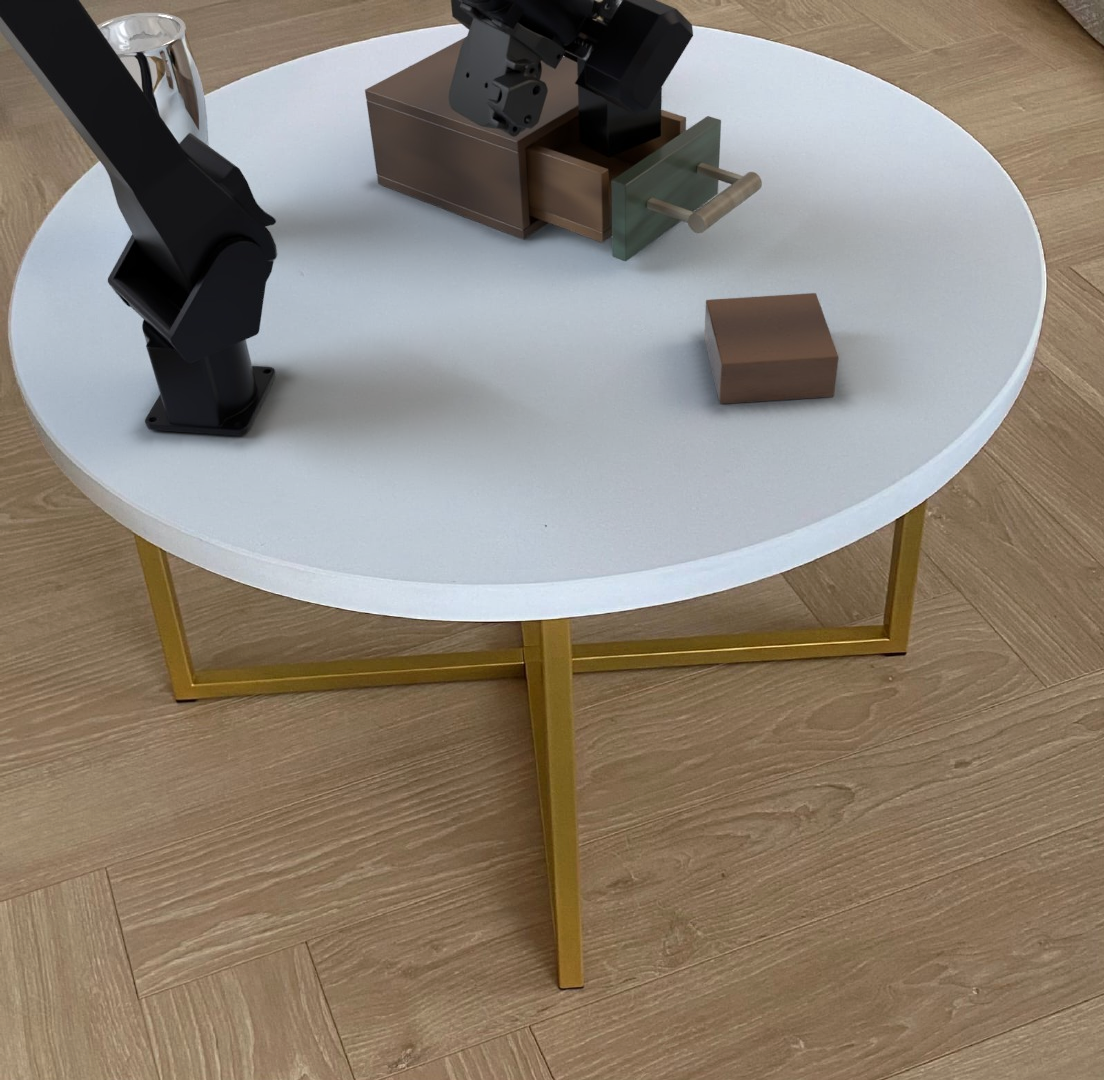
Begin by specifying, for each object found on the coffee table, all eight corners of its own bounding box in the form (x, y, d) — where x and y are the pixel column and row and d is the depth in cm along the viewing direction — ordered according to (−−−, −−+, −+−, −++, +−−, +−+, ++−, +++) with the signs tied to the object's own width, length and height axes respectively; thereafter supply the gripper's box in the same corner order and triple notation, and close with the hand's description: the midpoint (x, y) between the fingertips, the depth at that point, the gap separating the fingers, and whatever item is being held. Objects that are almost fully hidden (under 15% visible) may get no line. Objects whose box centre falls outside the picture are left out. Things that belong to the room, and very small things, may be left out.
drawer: (775, 213, 97) (781, 137, 93) (684, 284, 91) (687, 206, 87) (573, 145, 106) (570, 73, 102) (477, 206, 100) (470, 132, 96)
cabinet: (627, 170, 104) (627, 74, 99) (523, 240, 97) (517, 141, 92) (484, 121, 111) (477, 30, 106) (377, 184, 104) (364, 89, 99)
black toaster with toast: (661, 136, 95) (663, 15, 89) (608, 158, 93) (606, 35, 87) (631, 120, 97) (631, 1, 91) (579, 142, 95) (575, 21, 89)
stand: (834, 397, 82) (839, 356, 80) (719, 404, 82) (721, 364, 80) (812, 332, 88) (816, 292, 86) (704, 338, 88) (705, 299, 86)
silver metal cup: (212, 260, 97) (163, 56, 87) (122, 253, 98) (63, 51, 88) (247, 211, 102) (204, 12, 92) (161, 205, 103) (109, 8, 93)
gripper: (343, 32, 88) (493, 138, 100) (516, 130, 76) (661, 236, 89) (432, -126, 86) (574, 2, 98) (623, -49, 74) (756, 85, 87)
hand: (634, 81), depth 93 cm, fingers closed on black toaster with toast, 3 cm apart
